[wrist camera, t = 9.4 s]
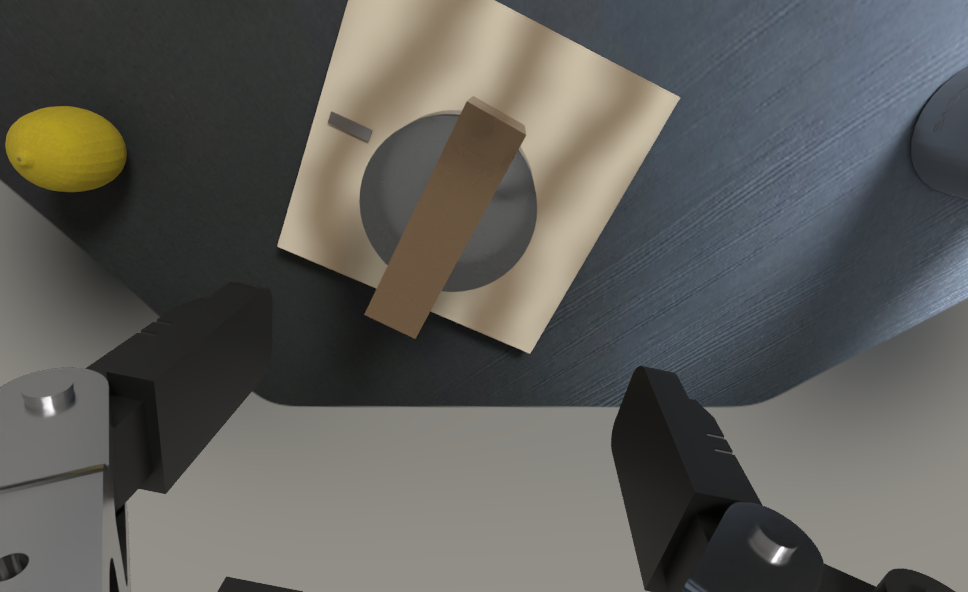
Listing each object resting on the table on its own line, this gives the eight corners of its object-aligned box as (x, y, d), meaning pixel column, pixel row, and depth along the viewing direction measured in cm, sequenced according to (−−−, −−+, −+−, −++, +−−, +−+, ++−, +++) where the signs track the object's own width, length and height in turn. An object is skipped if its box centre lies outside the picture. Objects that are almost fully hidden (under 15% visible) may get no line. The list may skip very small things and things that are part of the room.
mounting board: (673, 96, 34) (681, 97, 33) (529, 344, 43) (530, 355, 42) (373, -61, 31) (366, -67, 30) (285, 240, 40) (276, 247, 39)
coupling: (434, 60, 33) (393, 59, 21) (566, 136, 34) (593, 172, 23) (362, 226, 38) (297, 297, 26) (479, 286, 39) (466, 376, 28)
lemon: (154, 120, 37) (67, 134, 30) (146, 189, 39) (63, 218, 32) (78, 89, 36) (-31, 95, 29) (74, 161, 38) (-27, 183, 31)
